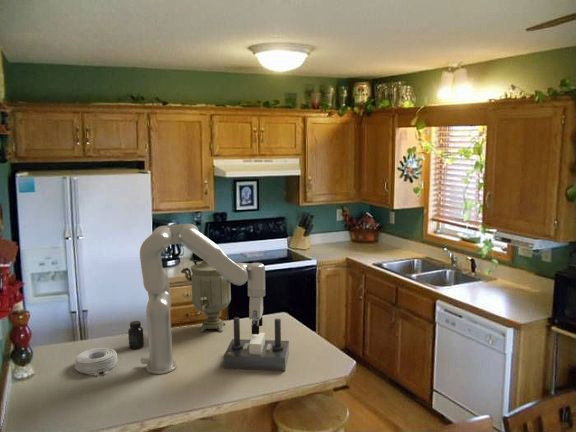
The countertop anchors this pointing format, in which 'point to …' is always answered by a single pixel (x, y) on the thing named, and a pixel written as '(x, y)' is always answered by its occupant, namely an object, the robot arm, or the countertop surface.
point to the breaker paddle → (257, 344)
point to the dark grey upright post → (237, 335)
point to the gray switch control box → (257, 357)
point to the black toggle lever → (277, 336)
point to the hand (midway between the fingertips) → (257, 329)
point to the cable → (96, 361)
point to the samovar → (209, 293)
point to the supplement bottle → (135, 335)
